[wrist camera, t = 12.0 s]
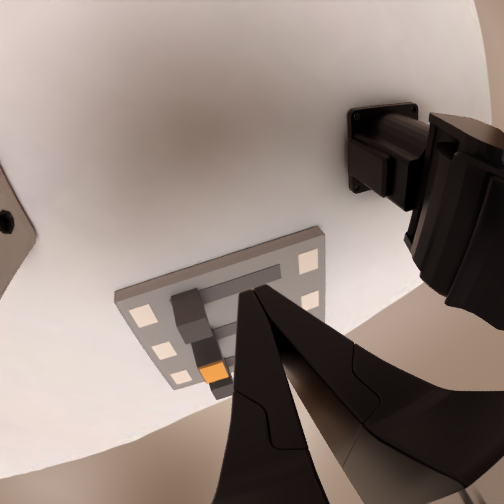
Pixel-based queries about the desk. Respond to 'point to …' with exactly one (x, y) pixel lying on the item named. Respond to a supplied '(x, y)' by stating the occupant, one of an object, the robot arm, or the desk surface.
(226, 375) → the block
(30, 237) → the electrical switch
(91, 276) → the desk surface
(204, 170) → the desk surface
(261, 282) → the panel
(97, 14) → the desk surface
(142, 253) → the desk surface
